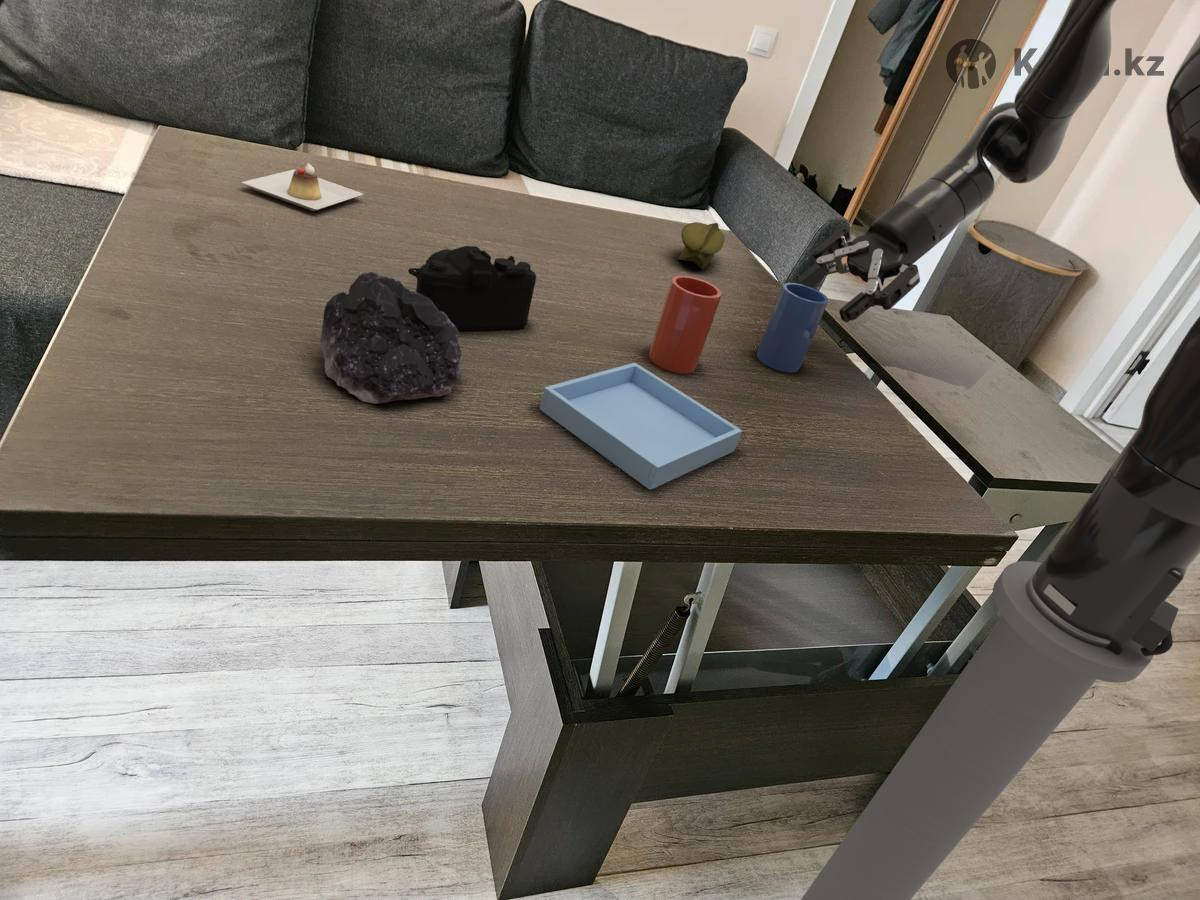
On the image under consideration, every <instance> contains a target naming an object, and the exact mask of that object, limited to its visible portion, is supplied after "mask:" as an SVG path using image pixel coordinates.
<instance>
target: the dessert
mask: <svg viewBox="0 0 1200 900" xmlns="http://www.w3.org/2000/svg"><path fill="white" fill-rule="evenodd" d="M315 171H316V170H315V167H313V165H311V164H310V163H309V162H307V164H306V166H305V168H303V166H301V167H297V169H290V170H285V171H281V172H278V173H273V174H269V175H265V176H261V177H256V178H252V179H248V180H244V181H241V184H242V185H244V186H246V187H248V188H250V189H251V190H253V191H256V192H258V193H260V194H263V195H265V196H269V197H272V198H274V199H276V200H280V201H282V202H286V203H288V204H291V205H293V206H296V207H298V208H301V209H304V210H307V211H310V212H317V211H319V210H322V209H326V208H329V207H332V206H335V205H338V204H341V203H344V202H347V201H351V200H353V199H355V198H358V197H361V196H363V195H364V194H365V193H363V192H360V191H358V190H355V189H351V188H348V187H346V186H343V185H340V184H338V183H334V182H332V181H329V180H326V179H323V178H321V177H318V175H317V173H316V172H315Z"/></svg>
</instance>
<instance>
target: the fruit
mask: <svg viewBox="0 0 1200 900" xmlns="http://www.w3.org/2000/svg"><path fill="white" fill-rule="evenodd" d="M681 241H682V243H683V245H684V247H683V248H682V250H681V252H680V254H679V257H678V260H681V261H686V262H693V263H694V264H695V265H697V267H699V268H700V269H701V270H704V269H705V268H706V267H707V266H709V264H710V263H711V261H712V259H713V257H714V256H715V254H717V253H719V252H720V251H721V250H722V249H723V246H724V243H725V234H724V233H723V232H722V231H721V229H720V227H719V223H718V222H713V223H708V224H707V223H703V222H698V221H695V222H690V223H687V224H685V225H684V227H683V228H682V229H681Z"/></svg>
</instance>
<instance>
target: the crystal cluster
mask: <svg viewBox="0 0 1200 900" xmlns="http://www.w3.org/2000/svg"><path fill="white" fill-rule="evenodd" d="M459 336H460V331H458V330H457V328H456V326H455V325H454V324H453V323H452V322H450V320H449V318H448V317H447V315H446V314H445V313H444V312H442V311H439V310H438V309H437V307H436V306H435V305H434V303H433V302H432V301H431V300H430V299H429V298H428V297H425V296H424V295H422V294H420V293H417V292H416V291H411V290H409V288H407V287H406V286H404V284H403V283H402V282H401V281H400V280H399V279H398V278H395V277H388V276H385V275H384V276H383V275H379V274H378V273H376V272H374V271H369V272H363V273H361V274H359V275H358V277H357V278H356V279H355V280H354V281H353V282H352V283H351V285H350V286H349V289H348V294H347V293H346V292H345V291H341V292H338V293H336V294H334V295H333V296H332V297H331V298H329V299H328V301H327V302H326V304H325V307H324V311H323V319H322V327H321V334H320V344H321V352H322V354H323V359H324V372H325V375H326V376H327V377H328V378H330V379H331V380H333V381H334V382H335V383H336V385H337V386H338V387H341V388H343V389H345V390H346V391H347V392H348V393H349V394H351V395H354V396H355V397H356V398H357V399H358V400H360V401H361V402H364V403H370V404H374V405H376V404H385V403H390V402H395V401H403V400H408V401H409V400H410V401H411V400H418V399H423V398H430V397H431V398H432V397H443V396H445V395H449V394H451V392H452V390H453V388H454V387H455V384H456V383H455V382H456V381H457V379H458V377H459V376H460V360H461V356H462V350H461V347H460V345H459Z"/></svg>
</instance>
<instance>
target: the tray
mask: <svg viewBox="0 0 1200 900" xmlns="http://www.w3.org/2000/svg"><path fill="white" fill-rule="evenodd" d="M539 411H541V412H542V413H544V414H545V415H546V416H548V417H549V418H551V419H552V420H553V421H555V422H556V423H557V424H559V425H560V426H561V427H563V428H565V430H567V431H568V432H569V433H571V434H573V435H574V436H575V437H576V438H578V440H581V441H582V442H583V443H585V444H586V445H587V446H589V447H590V448H592V449H593V450H595V451H596V452H597V453H598V454H600V455H601V456H602V457H604V458H605V459H606V460H608V461H610V462H611V463H612V464H613V465H615V466H616V467H618V468H619V469H621V470H622V471H623V472H624V473H626V474H627V475H629V476H630V477H631V478H633V479H634V480H635V481H637V482H638V483H640V484H641V485H642V486H643V487H645V488H646V489H648V490H649V491H651V490H653V489H656V488H658V487H660V486H662V485H664V484H667V483H669V482H671V481H673V480H675V479H677V478H680V477H682V476H684V475H685V474H688V473H690V472H692V471H695V470H697V469H699V468H701V467H703V466H706V465H707V464H709V463H712V462H715V461H716V460H719V459H721V458H723V457H725V456H727V455H730V454H731V453H734V452H735V451H736V448H737V445H738V443H739V441H740V438H741V437H742V436H741V435H742V433H743V430H742V429H741V428H739V427H738V426H736V425H735V424H733V423H731V422H730V421H728V420H727V419H725V418H724V417H722V416H720V415H718V414H717V413H716V412H714V411H712V410H711V409H709V408H707V407H706V406H705V405H703V404H701V403H700V402H698V401H697V400H695V399H693V398H692V397H690V396H689V395H687V394H685V393H684V392H682V391H681V390H679V389H677V388H676V387H674V386H673V385H671V384H670V383H669V382H667V381H665V380H663V379H662V378H660V377H659V376H657V375H656V374H654V373H652V372H651V371H650V370H648V369H647V368H645V367H643V366H641V365H639V364H638V363H636V362H632V363H628V364H625V365H621V366H617V367H614V368H609V369H606V370H602V371H598V372H595V373H592V374H588V375H585V376H580V377H577V378H574V379H569V380H566V381H562V382H559V383H555V384H551V385H548V386H544V389H543V392H542V395H541V400H540V405H539Z"/></svg>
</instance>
